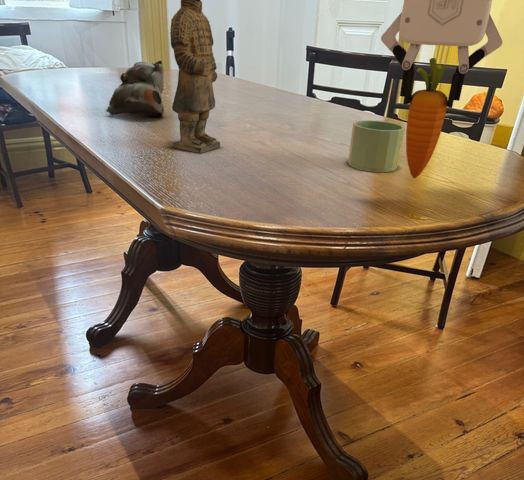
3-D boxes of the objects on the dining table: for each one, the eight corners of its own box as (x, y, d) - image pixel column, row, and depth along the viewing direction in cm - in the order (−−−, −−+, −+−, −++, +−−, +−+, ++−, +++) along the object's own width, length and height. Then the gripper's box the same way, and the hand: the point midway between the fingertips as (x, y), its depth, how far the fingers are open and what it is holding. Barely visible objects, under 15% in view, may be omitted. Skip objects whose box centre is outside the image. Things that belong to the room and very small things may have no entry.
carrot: (427, 185, 71) (452, 61, 63) (392, 179, 73) (412, 58, 65) (435, 176, 75) (460, 58, 66) (402, 171, 77) (422, 56, 68)
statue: (196, 155, 95) (191, -48, 79) (164, 148, 99) (153, -49, 82) (228, 145, 103) (229, -42, 86) (197, 139, 106) (193, -43, 89)
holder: (399, 163, 98) (407, 123, 94) (393, 174, 91) (401, 132, 87) (353, 157, 100) (358, 118, 96) (343, 168, 93) (349, 126, 89)
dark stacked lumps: (97, 113, 123) (104, 53, 122) (141, 130, 132) (148, 74, 131) (128, 102, 113) (136, 37, 112) (174, 122, 121) (182, 61, 120)
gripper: (380, -74, 57) (359, 104, 68) (545, -76, 53) (496, 114, 63) (389, -67, 63) (369, 96, 74) (538, -68, 59) (494, 105, 69)
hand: (428, 103), depth 68 cm, fingers closed on carrot, 4 cm apart
